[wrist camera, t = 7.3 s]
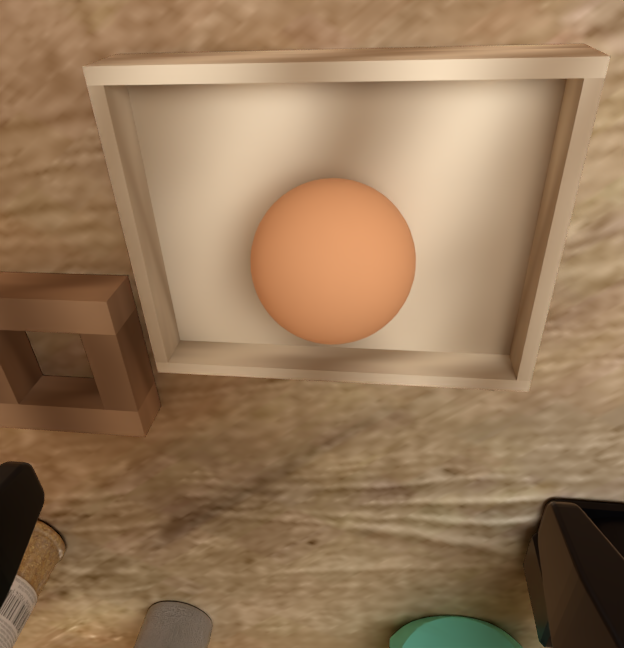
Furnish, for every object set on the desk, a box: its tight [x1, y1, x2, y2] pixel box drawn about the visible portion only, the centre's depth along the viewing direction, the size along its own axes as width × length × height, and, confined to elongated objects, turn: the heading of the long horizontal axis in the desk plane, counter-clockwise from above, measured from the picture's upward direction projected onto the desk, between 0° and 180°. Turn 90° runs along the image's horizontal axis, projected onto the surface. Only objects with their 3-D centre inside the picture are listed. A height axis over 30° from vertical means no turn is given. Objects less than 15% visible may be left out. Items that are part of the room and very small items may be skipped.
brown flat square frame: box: [0, 272, 161, 437], centre depth 23 cm, size 7×7×2 cm
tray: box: [82, 44, 610, 392], centre depth 18 cm, size 14×11×2 cm
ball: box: [250, 178, 416, 345], centre depth 17 cm, size 5×5×5 cm
